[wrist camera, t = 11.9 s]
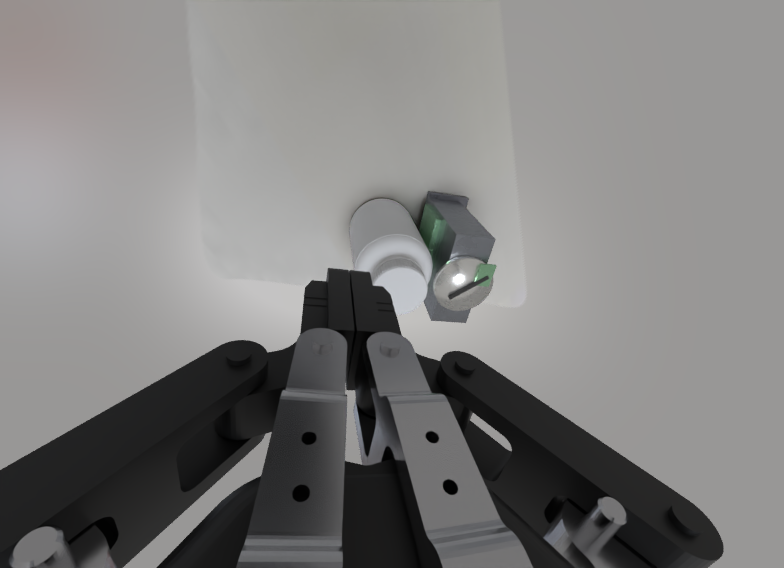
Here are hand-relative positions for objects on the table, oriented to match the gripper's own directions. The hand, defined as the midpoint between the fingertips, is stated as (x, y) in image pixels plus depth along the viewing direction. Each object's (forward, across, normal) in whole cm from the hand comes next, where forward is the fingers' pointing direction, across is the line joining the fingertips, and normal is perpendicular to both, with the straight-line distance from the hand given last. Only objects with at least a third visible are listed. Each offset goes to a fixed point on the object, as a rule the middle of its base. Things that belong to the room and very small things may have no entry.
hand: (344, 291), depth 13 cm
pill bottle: (+31, -7, +10) cm, 33 cm away
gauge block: (+31, -14, +10) cm, 35 cm away
